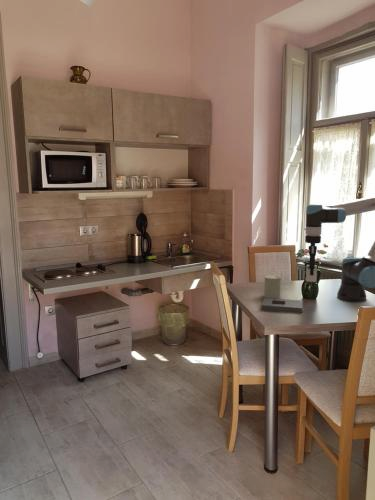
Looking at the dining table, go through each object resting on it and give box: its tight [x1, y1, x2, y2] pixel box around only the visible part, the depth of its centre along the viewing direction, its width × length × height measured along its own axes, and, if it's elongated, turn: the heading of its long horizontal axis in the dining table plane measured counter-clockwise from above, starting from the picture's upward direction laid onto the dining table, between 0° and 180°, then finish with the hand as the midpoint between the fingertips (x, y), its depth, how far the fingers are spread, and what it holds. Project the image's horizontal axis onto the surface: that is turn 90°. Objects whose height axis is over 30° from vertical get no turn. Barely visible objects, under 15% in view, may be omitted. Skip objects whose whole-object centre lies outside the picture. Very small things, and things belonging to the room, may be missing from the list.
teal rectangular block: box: [305, 264, 318, 283], centre depth 204 cm, size 5×4×8 cm
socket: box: [260, 297, 304, 314], centre depth 207 cm, size 20×14×2 cm
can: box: [263, 274, 282, 299], centre depth 227 cm, size 9×9×12 cm
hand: (311, 280), depth 204 cm, fingers closed on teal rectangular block, 4 cm apart
